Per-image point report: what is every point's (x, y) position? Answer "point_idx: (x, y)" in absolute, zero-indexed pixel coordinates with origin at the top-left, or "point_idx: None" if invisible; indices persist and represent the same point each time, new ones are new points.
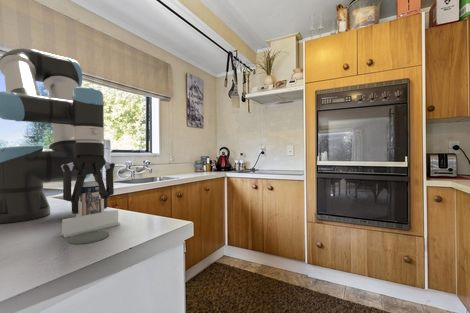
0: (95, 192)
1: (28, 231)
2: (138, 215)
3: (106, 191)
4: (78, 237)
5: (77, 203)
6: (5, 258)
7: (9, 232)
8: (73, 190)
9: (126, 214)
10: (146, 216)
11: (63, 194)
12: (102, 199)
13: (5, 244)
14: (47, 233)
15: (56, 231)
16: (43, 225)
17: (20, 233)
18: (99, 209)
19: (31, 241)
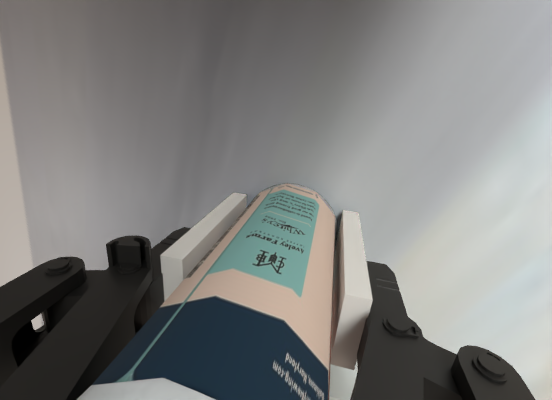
0: None
1: (73, 99)
2: (545, 323)
3: (464, 386)
4: None
5: (165, 298)
6: (43, 324)
7: (12, 32)
8: (51, 335)
9: (546, 235)
10: (536, 376)
11: (4, 295)
12: (342, 362)
13: (27, 214)
14: (126, 209)
15: (153, 214)
16: (129, 27)
17: (50, 104)
18: (333, 278)
19: (82, 255)
